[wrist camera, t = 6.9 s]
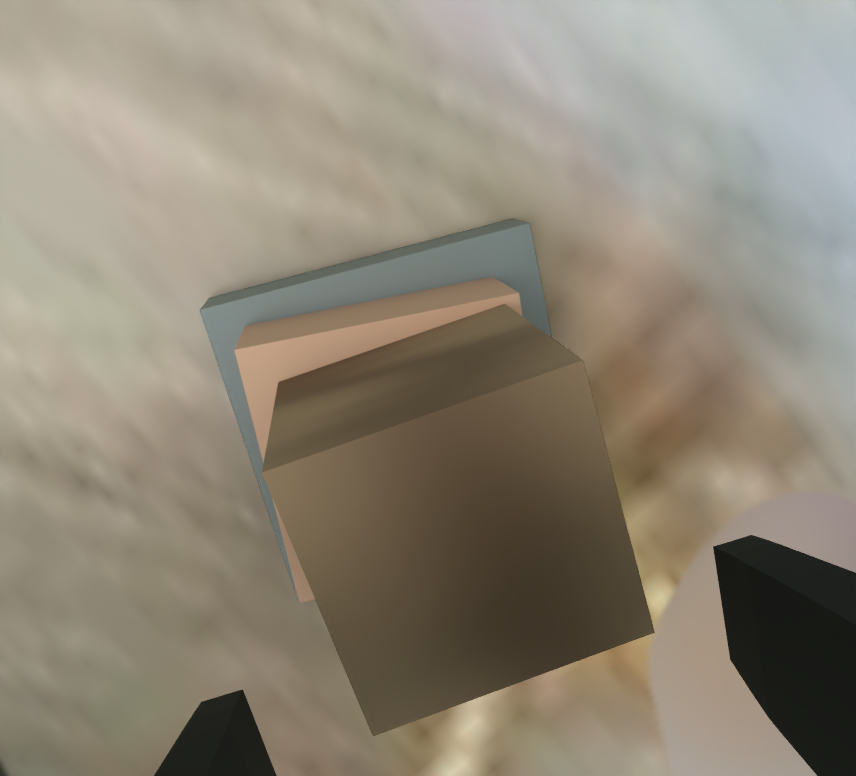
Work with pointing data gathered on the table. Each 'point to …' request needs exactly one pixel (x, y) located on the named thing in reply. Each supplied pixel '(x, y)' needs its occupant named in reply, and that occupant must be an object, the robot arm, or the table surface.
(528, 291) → the tower base
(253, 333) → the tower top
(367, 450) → the walnut cube
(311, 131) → the table surface
